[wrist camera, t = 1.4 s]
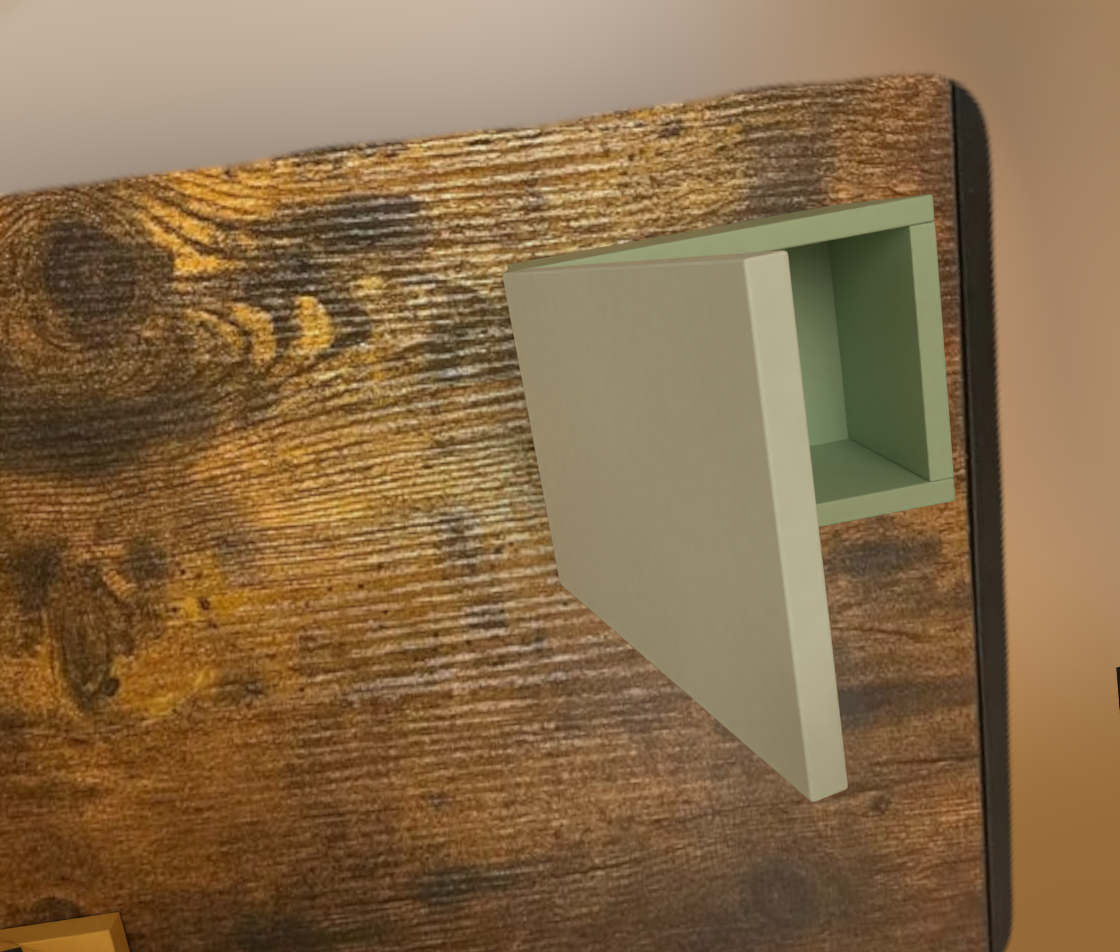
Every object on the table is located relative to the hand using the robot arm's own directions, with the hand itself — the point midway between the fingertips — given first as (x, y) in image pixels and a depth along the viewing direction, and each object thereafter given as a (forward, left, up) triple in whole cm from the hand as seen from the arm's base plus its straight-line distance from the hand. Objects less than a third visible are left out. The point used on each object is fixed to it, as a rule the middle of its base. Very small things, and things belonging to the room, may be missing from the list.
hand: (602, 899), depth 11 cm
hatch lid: (+2, +3, -12) cm, 12 cm away
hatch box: (+5, +5, -26) cm, 27 cm away
